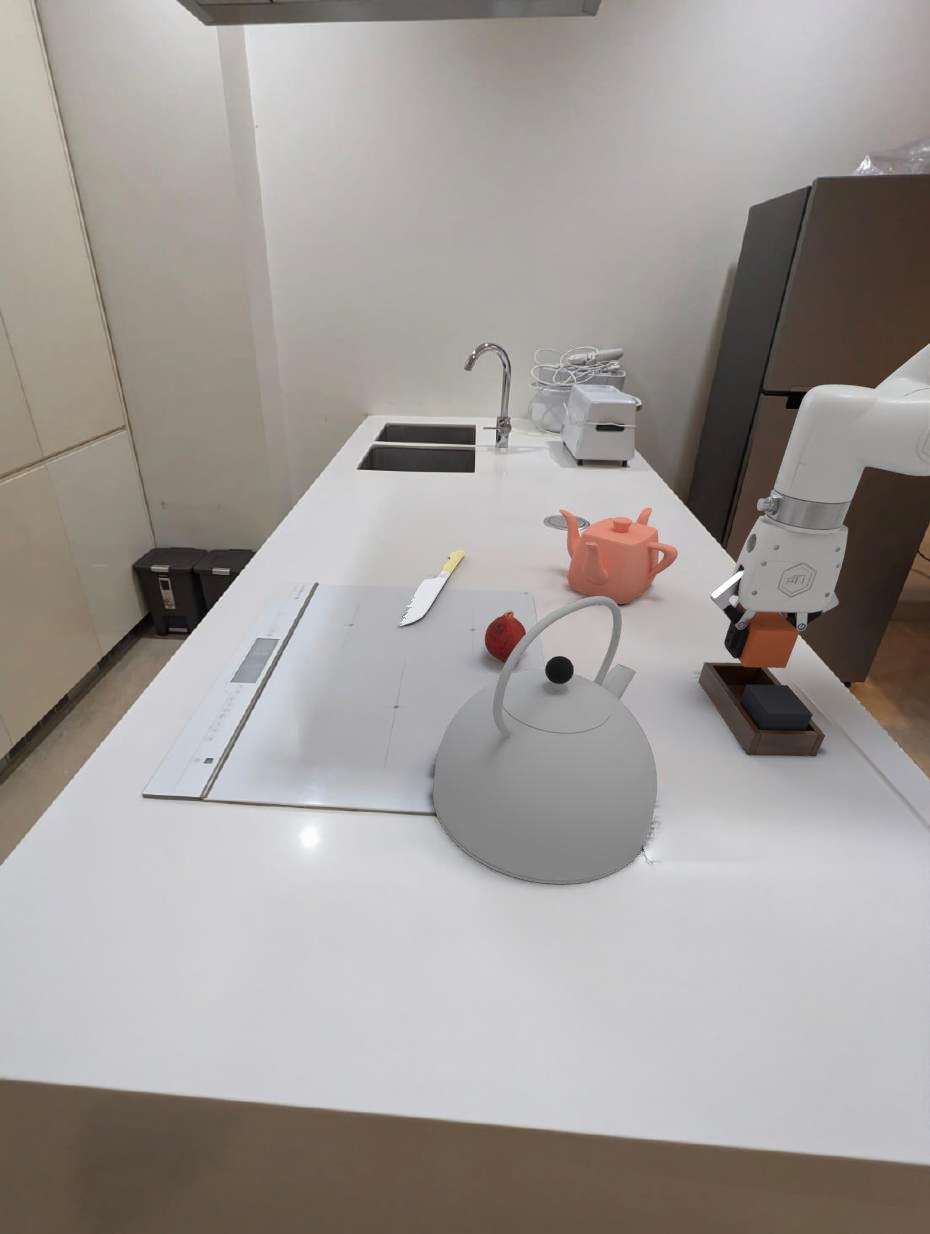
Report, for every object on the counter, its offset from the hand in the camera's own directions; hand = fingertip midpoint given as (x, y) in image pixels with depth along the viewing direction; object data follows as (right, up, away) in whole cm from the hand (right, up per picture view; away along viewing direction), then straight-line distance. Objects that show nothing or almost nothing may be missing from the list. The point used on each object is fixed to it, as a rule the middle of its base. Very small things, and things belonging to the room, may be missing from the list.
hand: (755, 652), depth 78 cm
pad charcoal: (0, -10, -2) cm, 10 cm away
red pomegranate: (-30, -1, +12) cm, 32 cm away
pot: (-9, +13, +35) cm, 38 cm away
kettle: (-28, -16, -11) cm, 34 cm away
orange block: (0, 0, 0) cm, 0 cm away
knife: (-40, +13, +33) cm, 53 cm away
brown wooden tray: (0, -8, +1) cm, 8 cm away
